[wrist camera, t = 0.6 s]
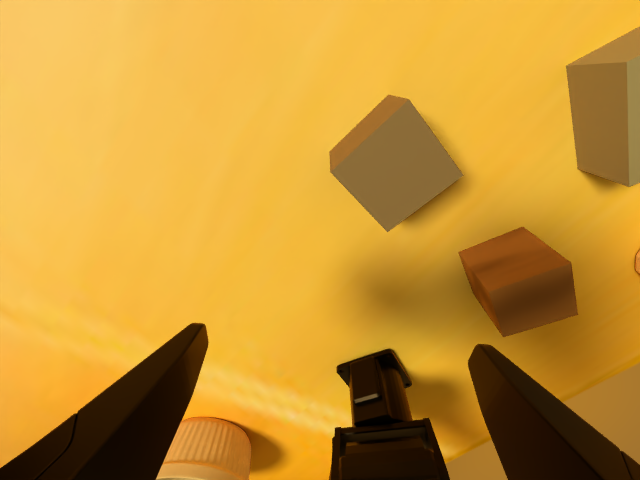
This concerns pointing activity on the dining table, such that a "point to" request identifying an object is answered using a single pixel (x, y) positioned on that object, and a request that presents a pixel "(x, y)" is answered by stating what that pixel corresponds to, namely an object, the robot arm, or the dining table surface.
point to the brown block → (392, 162)
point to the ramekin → (207, 452)
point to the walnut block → (520, 281)
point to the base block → (608, 109)
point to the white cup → (637, 262)
